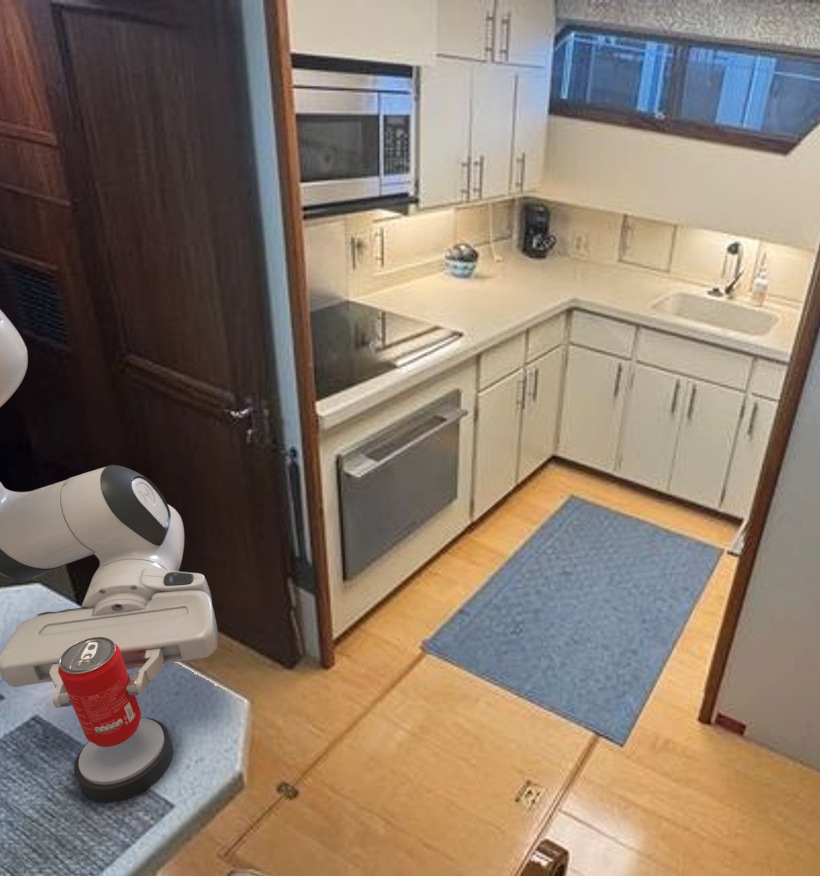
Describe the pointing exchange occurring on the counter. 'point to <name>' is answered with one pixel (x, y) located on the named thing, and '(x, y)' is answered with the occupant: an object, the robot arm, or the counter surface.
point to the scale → (125, 763)
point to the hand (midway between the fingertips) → (99, 697)
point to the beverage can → (100, 691)
